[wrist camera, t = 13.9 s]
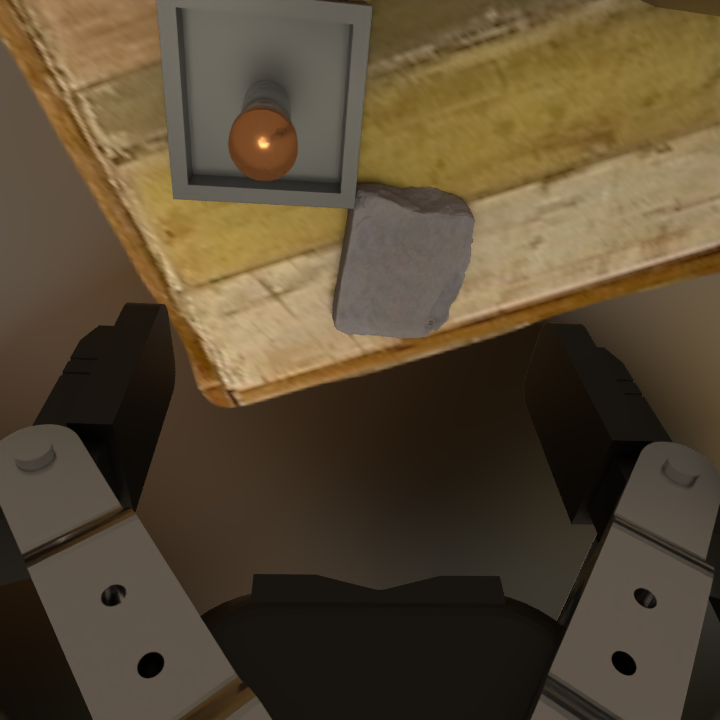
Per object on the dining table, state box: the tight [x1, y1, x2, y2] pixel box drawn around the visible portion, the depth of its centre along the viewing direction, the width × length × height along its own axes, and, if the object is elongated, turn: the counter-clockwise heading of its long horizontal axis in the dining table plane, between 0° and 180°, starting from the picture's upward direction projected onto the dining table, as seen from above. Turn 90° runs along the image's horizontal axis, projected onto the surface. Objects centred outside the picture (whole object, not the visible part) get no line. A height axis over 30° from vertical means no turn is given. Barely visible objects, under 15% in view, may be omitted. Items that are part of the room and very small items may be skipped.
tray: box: [156, 0, 372, 209], centre depth 38 cm, size 12×12×3 cm
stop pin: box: [228, 80, 298, 181], centre depth 35 cm, size 4×4×9 cm
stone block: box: [332, 183, 475, 338], centre depth 46 cm, size 12×5×10 cm
